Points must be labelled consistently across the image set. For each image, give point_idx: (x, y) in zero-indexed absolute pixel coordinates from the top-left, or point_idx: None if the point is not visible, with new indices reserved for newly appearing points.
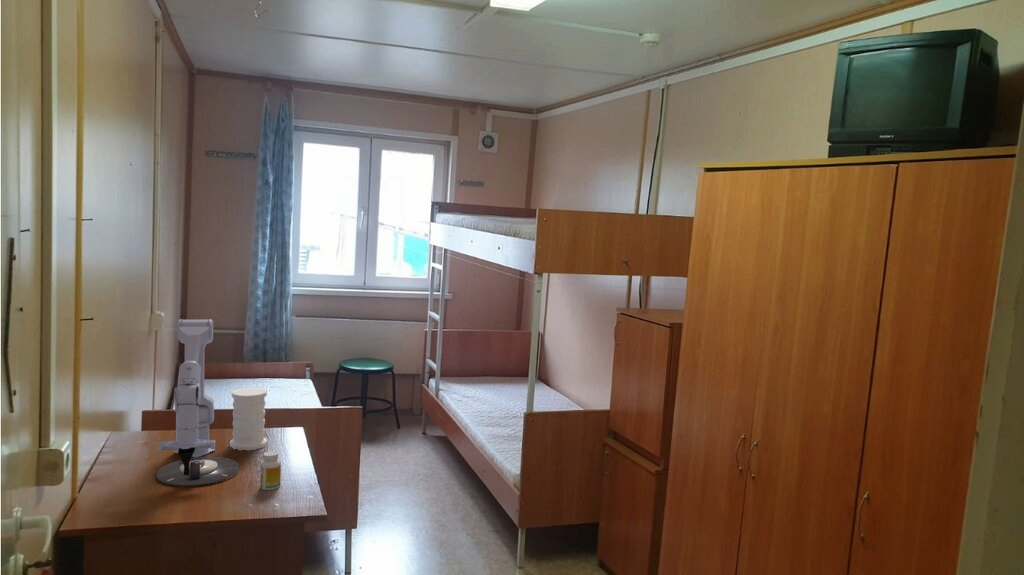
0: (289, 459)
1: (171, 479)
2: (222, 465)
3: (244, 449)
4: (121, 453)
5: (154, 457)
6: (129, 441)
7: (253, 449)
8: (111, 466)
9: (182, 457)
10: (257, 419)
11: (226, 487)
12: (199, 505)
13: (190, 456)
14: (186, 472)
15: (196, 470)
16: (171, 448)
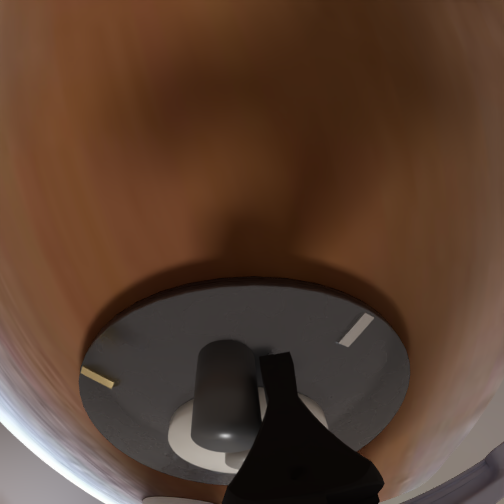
0: (37, 444)
1: (352, 332)
2: (168, 450)
3: (176, 499)
4: (449, 443)
5: (396, 456)
6: (425, 473)
7: (156, 497)
8: (483, 393)
9: (328, 456)
10: None
11: (39, 266)
12: (91, 4)
13: (246, 474)
14: (274, 364)
15: (206, 381)
16: (435, 496)
